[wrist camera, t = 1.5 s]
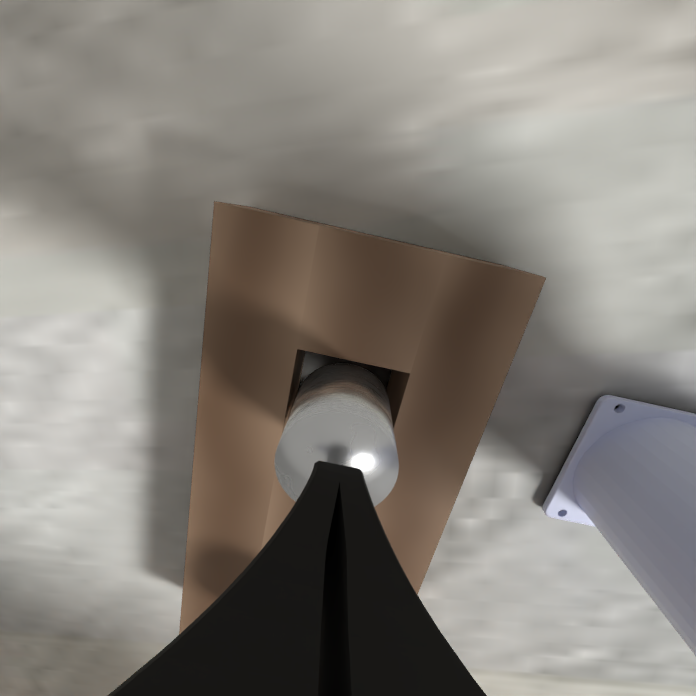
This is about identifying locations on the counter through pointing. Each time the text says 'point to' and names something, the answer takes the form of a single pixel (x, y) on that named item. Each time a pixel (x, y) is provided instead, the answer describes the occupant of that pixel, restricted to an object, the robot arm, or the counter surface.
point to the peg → (339, 430)
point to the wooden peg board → (346, 343)
